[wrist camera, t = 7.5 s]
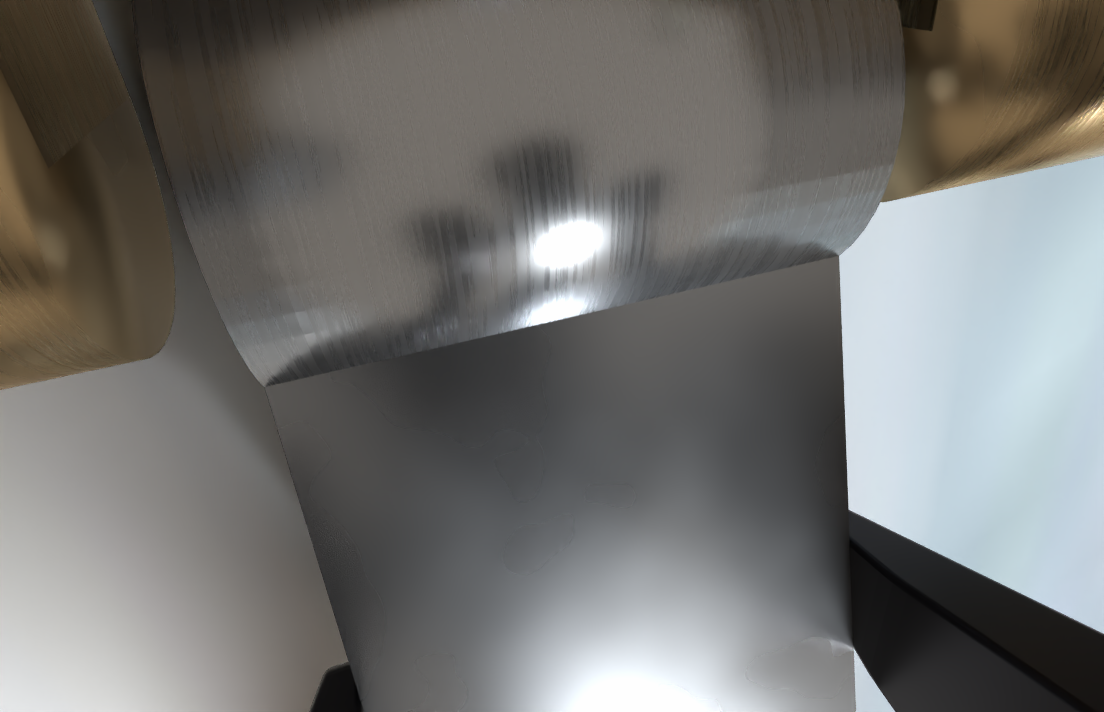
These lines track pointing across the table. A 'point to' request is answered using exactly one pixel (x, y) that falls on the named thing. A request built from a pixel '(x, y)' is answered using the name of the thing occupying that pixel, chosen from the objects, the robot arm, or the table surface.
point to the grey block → (548, 325)
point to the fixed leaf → (140, 219)
